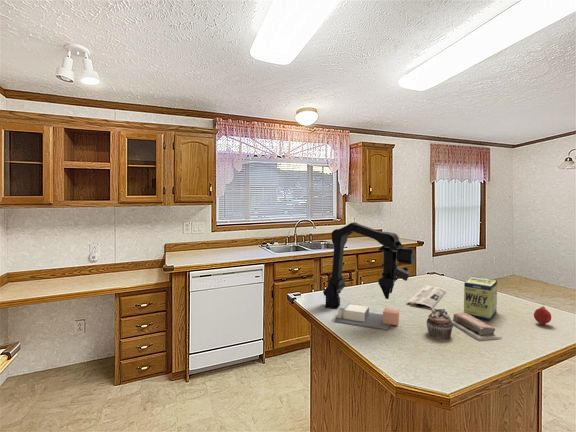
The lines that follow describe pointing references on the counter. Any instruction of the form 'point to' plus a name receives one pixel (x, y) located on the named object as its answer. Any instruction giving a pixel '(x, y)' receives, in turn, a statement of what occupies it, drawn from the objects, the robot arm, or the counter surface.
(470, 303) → the protein box
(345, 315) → the grey flat tray
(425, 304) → the newspaper
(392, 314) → the stub
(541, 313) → the onion
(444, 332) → the cupcake
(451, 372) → the counter surface
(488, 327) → the packaged product
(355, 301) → the counter surface
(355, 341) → the counter surface
